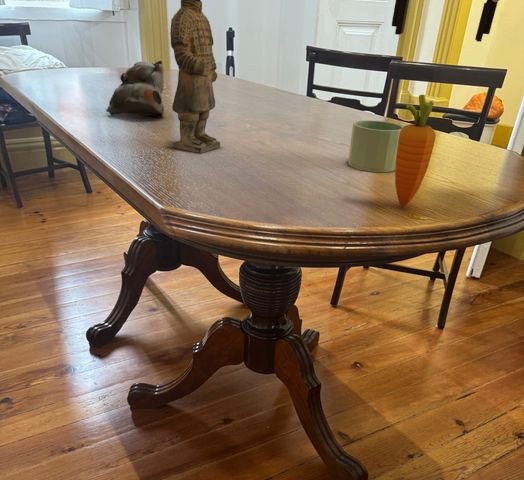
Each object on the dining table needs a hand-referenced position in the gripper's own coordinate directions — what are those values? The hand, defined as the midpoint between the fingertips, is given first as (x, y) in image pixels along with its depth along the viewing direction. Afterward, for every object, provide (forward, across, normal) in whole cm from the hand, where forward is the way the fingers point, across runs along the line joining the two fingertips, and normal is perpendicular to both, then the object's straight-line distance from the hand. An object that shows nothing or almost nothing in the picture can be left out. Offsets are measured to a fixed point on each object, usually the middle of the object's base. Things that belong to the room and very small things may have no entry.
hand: (437, 37), depth 64 cm
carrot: (+22, 0, 0) cm, 22 cm away
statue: (+22, -42, +19) cm, 51 cm away
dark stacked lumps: (+23, -68, +41) cm, 82 cm away
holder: (+22, -8, +22) cm, 32 cm away
